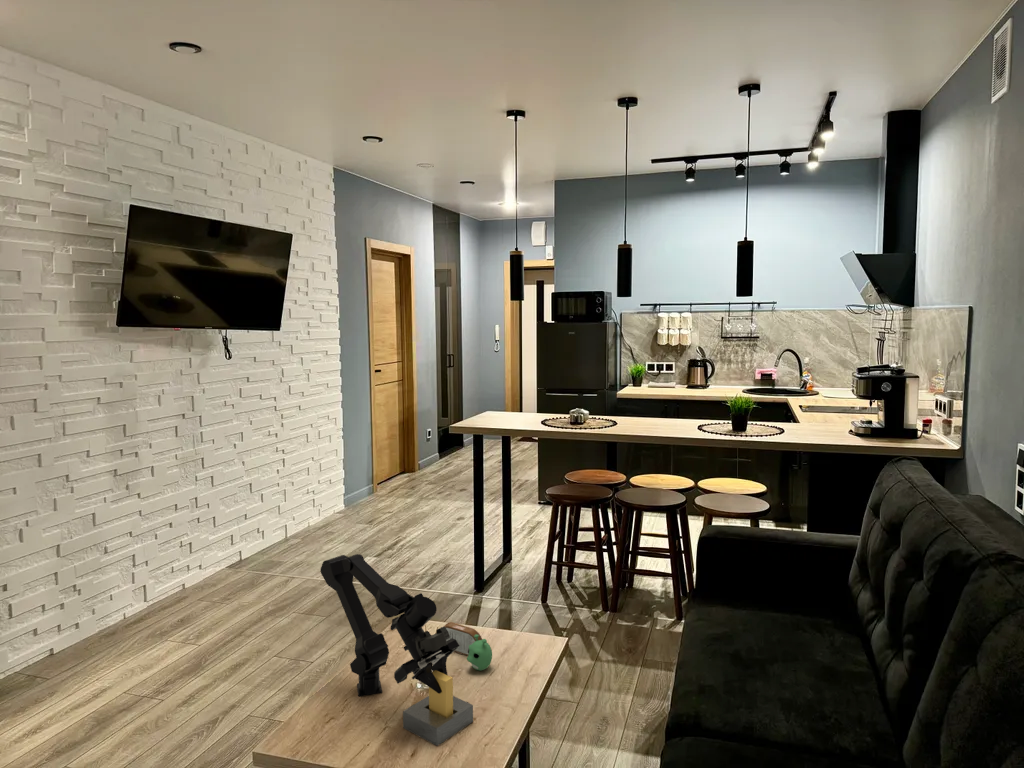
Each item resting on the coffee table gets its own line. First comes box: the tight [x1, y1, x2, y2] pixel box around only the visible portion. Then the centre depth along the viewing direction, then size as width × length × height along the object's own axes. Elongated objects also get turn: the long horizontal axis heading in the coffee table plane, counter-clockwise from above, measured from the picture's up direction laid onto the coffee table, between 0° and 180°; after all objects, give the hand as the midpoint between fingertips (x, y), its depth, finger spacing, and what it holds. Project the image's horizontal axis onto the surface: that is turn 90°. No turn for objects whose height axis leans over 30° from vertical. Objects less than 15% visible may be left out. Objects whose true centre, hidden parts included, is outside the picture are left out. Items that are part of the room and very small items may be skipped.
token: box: [428, 670, 454, 718], centre depth 177 cm, size 6×2×10 cm, turn 51°
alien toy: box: [466, 634, 493, 671], centre depth 206 cm, size 7×8×10 cm
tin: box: [442, 621, 483, 656], centre depth 216 cm, size 15×3×8 cm, turn 58°
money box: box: [402, 695, 474, 747], centre depth 178 cm, size 12×13×4 cm
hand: (444, 690), depth 176 cm, fingers closed on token, 2 cm apart
